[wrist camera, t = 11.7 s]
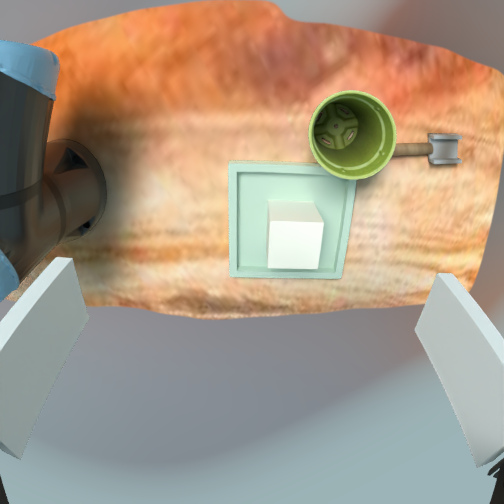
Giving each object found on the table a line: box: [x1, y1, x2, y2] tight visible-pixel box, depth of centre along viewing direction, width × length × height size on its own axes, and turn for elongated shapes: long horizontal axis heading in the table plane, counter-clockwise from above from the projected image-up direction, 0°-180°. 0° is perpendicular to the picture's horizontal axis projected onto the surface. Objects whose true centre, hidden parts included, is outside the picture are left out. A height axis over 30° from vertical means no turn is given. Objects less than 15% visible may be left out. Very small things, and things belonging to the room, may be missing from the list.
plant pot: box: [308, 90, 397, 180], centre depth 32 cm, size 9×9×9 cm
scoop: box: [392, 133, 462, 164], centre depth 36 cm, size 13×4×2 cm, turn 99°
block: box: [266, 200, 324, 269], centre depth 39 cm, size 6×6×7 cm
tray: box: [228, 160, 357, 279], centre depth 42 cm, size 16×16×2 cm
